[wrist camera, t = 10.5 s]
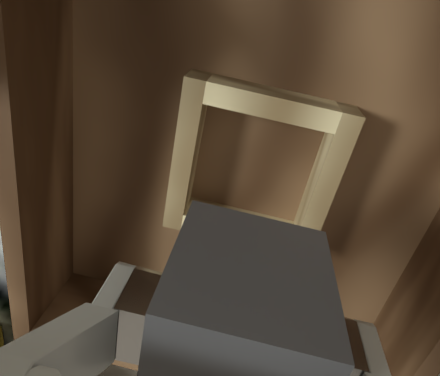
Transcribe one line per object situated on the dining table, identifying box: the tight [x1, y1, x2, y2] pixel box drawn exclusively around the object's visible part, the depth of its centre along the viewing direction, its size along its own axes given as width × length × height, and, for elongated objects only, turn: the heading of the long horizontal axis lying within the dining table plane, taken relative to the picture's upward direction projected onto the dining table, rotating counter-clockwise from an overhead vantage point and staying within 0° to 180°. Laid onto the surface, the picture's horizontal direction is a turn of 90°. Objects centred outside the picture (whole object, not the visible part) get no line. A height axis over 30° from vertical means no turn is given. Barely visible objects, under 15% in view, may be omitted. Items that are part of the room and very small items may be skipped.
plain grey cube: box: [137, 200, 355, 376], centre depth 10 cm, size 4×4×4 cm
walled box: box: [0, 0, 440, 376], centre depth 17 cm, size 22×24×6 cm
